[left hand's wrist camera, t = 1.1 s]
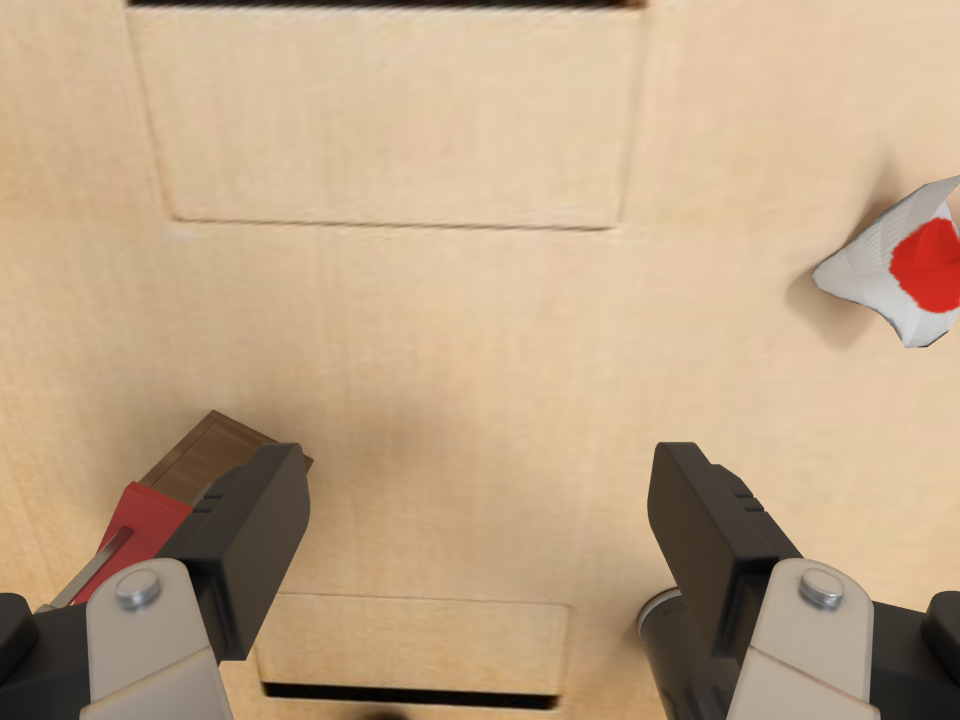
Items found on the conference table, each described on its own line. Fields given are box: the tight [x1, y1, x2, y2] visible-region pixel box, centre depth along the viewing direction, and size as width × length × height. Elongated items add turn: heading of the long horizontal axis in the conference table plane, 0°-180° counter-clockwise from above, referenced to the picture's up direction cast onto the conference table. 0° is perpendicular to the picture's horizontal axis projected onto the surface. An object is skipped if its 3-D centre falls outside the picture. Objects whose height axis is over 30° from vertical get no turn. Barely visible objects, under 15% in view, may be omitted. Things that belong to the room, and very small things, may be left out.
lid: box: [34, 481, 193, 614], centre depth 31 cm, size 15×9×8 cm, turn 148°
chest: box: [138, 410, 314, 508], centre depth 40 cm, size 14×9×11 cm, turn 148°
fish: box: [811, 175, 960, 348], centre depth 34 cm, size 11×16×10 cm
